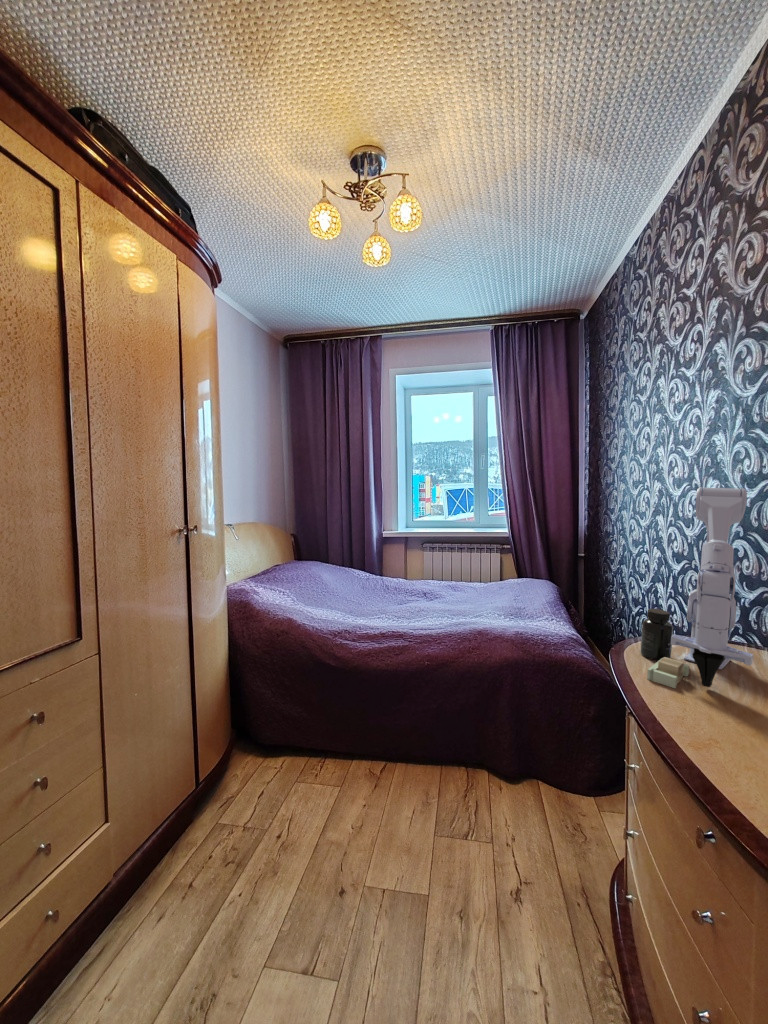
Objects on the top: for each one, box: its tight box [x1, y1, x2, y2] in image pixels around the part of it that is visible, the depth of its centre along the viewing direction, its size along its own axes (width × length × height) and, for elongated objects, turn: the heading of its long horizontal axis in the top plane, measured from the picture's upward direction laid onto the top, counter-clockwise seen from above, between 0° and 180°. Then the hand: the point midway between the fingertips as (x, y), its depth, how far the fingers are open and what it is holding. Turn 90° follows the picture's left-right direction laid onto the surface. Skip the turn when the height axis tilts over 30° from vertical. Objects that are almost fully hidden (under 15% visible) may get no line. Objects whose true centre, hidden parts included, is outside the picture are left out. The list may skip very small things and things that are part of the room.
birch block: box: [657, 657, 685, 684], centre depth 104 cm, size 4×4×4 cm
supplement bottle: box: [640, 608, 674, 662], centre depth 116 cm, size 7×7×12 cm
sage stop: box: [646, 659, 690, 689], centre depth 104 cm, size 10×6×2 cm, turn 131°
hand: (706, 685), depth 99 cm, fingers closed
